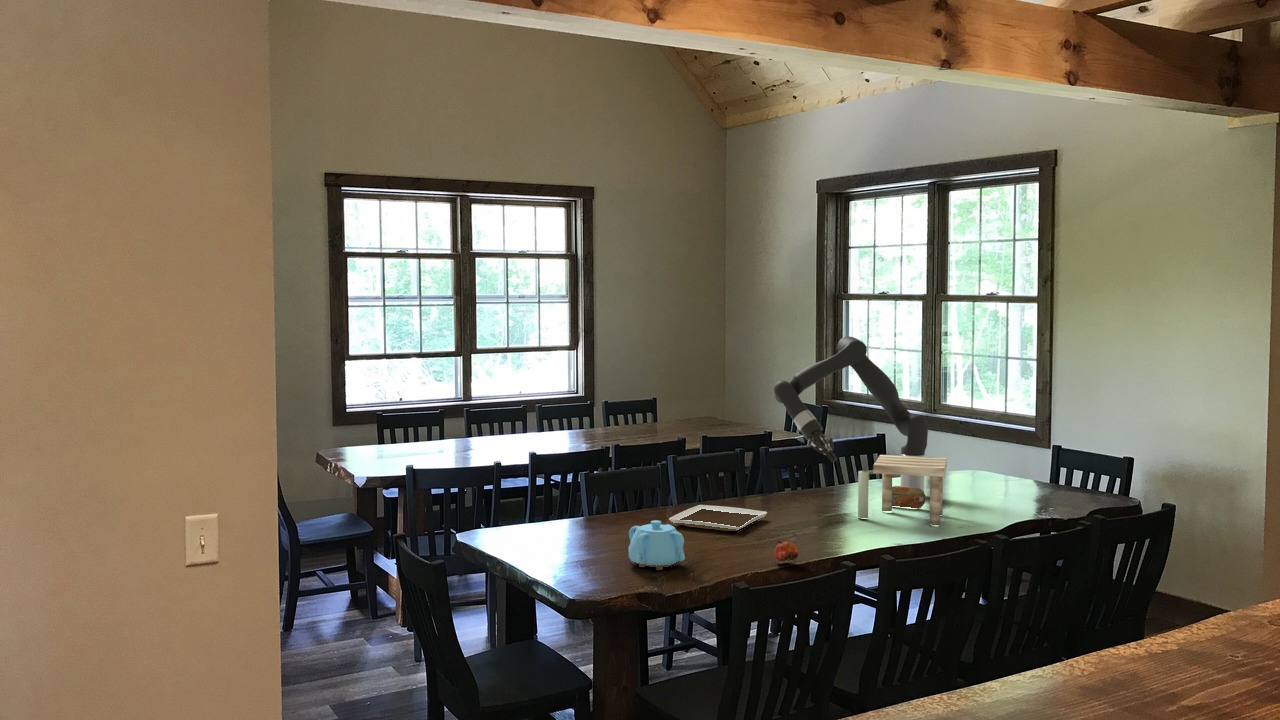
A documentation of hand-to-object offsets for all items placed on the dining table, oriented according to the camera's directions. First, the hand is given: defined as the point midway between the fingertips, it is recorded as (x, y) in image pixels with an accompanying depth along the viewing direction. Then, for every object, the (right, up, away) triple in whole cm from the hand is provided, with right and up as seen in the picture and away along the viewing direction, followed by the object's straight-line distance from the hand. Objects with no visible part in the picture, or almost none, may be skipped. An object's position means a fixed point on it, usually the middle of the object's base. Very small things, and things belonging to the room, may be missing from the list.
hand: (834, 460), depth 382 cm
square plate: (-44, -21, -16) cm, 52 cm away
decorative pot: (-67, -25, -72) cm, 102 cm away
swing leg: (+12, -20, -8) cm, 25 cm away
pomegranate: (-28, -24, -72) cm, 81 cm away
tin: (+28, -19, +9) cm, 36 cm away
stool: (+25, -20, -10) cm, 34 cm away
